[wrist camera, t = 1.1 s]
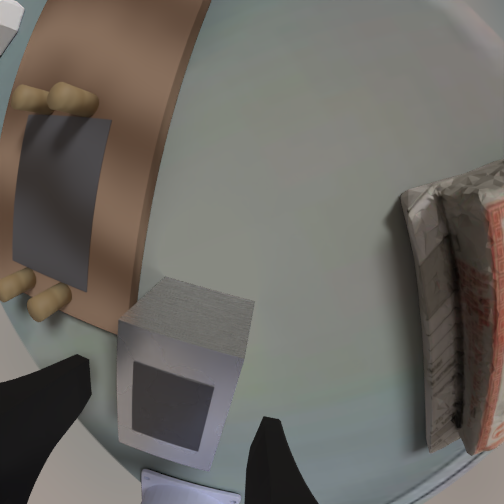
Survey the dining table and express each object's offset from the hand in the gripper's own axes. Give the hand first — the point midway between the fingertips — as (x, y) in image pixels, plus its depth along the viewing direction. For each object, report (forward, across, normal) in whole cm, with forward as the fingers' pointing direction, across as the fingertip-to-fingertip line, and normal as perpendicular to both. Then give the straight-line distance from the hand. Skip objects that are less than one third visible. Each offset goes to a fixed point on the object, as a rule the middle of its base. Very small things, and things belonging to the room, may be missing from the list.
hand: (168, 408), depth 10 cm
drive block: (+5, 0, 0) cm, 5 cm away
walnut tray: (+5, +9, -10) cm, 14 cm away
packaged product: (+6, -16, -5) cm, 18 cm away
